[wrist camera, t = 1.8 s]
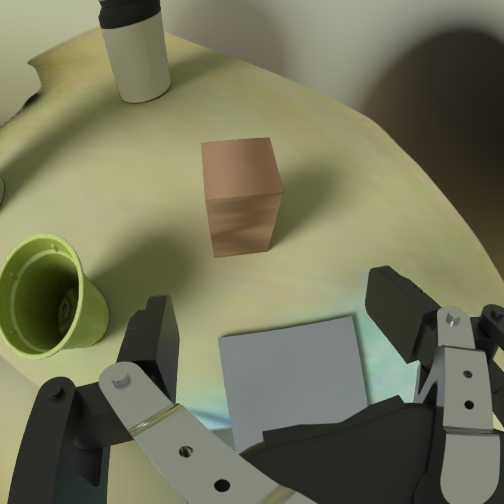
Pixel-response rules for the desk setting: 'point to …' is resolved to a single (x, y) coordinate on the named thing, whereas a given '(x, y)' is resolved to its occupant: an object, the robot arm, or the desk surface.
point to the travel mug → (136, 47)
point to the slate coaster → (291, 378)
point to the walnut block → (241, 194)
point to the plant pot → (48, 299)
